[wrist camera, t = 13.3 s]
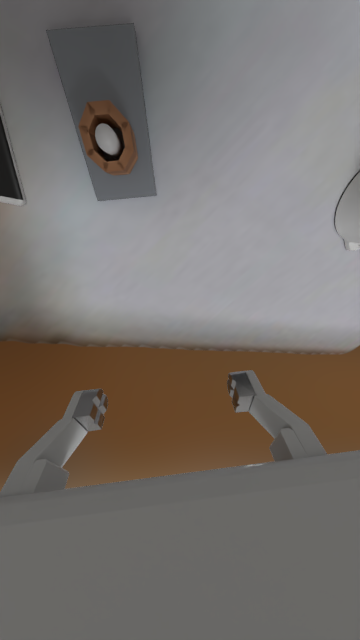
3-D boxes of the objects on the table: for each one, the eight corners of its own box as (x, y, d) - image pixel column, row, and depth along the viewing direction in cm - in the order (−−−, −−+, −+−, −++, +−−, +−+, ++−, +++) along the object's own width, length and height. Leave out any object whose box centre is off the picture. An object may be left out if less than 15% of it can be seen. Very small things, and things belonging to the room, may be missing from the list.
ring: (131, 115, 23) (124, 98, 19) (140, 173, 27) (136, 169, 23) (87, 119, 23) (71, 103, 19) (102, 176, 27) (92, 173, 23)
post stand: (135, 31, 20) (124, -34, 15) (156, 195, 30) (155, 195, 24) (51, 37, 20) (7, -25, 14) (99, 200, 30) (84, 202, 24)
